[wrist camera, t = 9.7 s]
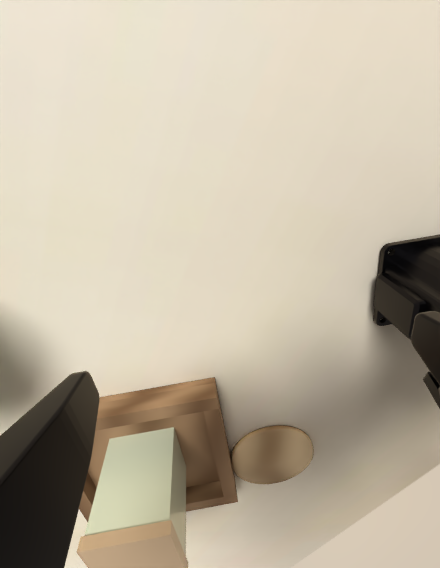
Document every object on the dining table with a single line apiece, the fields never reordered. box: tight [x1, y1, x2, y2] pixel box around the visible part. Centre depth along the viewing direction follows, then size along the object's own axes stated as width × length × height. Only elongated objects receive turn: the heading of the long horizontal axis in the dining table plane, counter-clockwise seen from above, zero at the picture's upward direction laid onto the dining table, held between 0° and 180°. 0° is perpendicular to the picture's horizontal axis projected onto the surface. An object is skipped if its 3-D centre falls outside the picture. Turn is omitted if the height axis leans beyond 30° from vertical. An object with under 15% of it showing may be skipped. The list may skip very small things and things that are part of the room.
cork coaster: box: [231, 425, 314, 484], centre depth 29 cm, size 8×8×1 cm
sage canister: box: [77, 427, 188, 568], centre depth 23 cm, size 6×6×8 cm
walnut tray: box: [79, 377, 238, 522], centre depth 26 cm, size 14×14×2 cm
